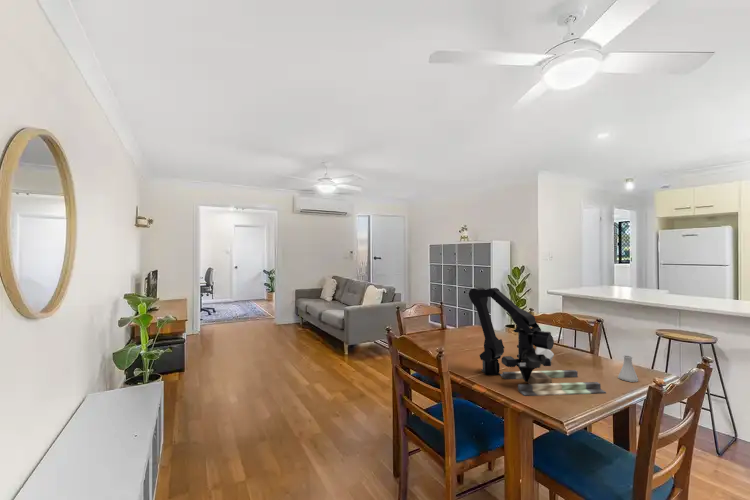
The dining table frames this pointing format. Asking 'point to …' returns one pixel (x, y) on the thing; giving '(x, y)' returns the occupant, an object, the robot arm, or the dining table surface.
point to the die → (544, 352)
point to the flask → (628, 370)
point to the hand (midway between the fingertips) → (526, 381)
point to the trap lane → (555, 384)
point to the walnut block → (539, 378)
